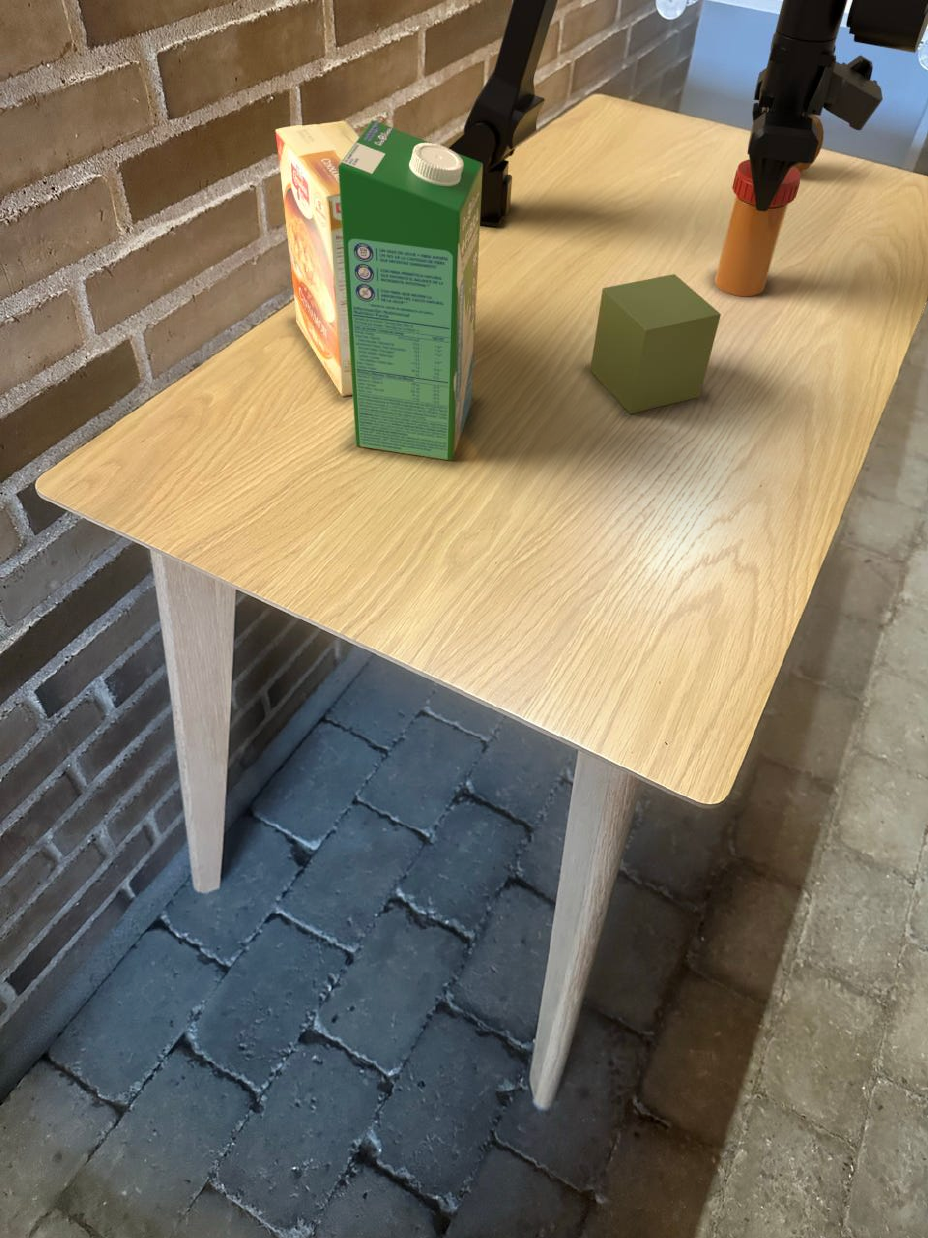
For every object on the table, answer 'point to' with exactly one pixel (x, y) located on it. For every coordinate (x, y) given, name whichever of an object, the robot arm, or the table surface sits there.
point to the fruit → (804, 166)
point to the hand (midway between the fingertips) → (762, 197)
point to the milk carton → (410, 289)
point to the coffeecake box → (318, 238)
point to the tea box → (653, 342)
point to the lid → (746, 190)
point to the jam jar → (748, 248)
